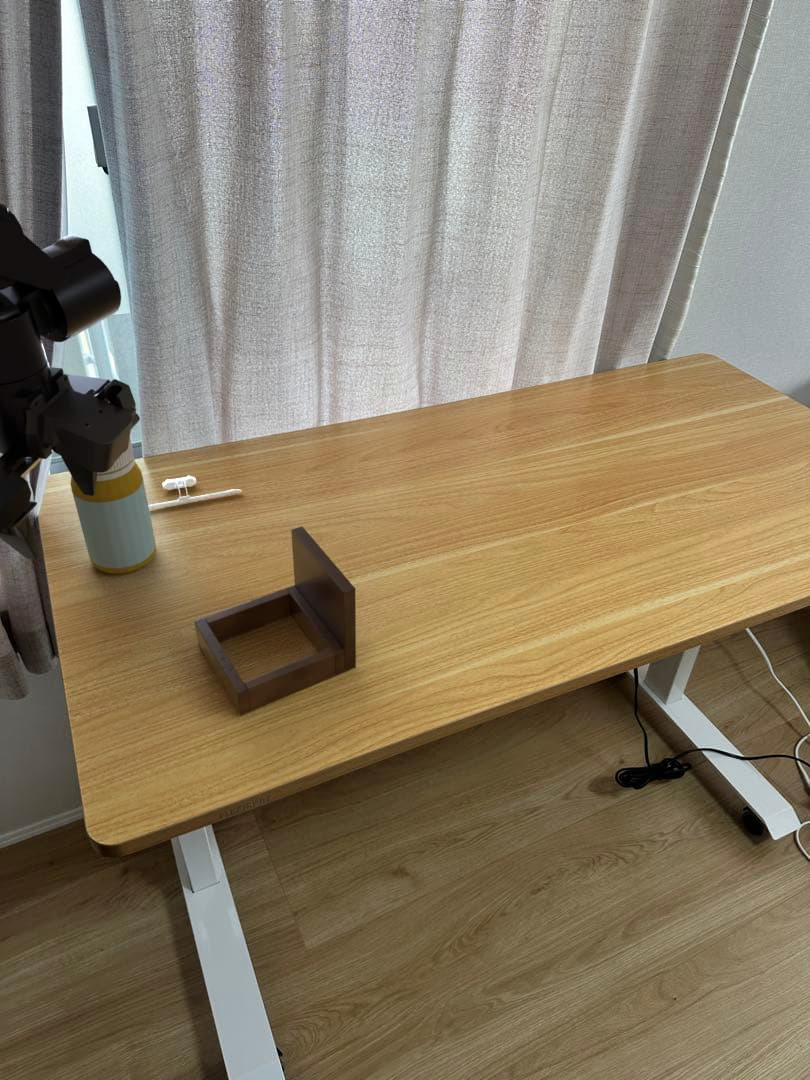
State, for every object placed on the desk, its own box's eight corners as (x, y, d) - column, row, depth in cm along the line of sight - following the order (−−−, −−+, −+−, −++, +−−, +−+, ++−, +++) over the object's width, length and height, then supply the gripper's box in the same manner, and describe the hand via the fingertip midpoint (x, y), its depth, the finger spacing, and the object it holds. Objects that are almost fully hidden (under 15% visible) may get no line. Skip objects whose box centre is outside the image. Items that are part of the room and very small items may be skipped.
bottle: (144, 530, 93) (120, 415, 83) (166, 563, 88) (144, 445, 79) (82, 550, 89) (51, 432, 80) (103, 585, 85) (72, 464, 76)
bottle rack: (240, 716, 72) (228, 635, 66) (197, 643, 79) (183, 563, 73) (356, 667, 77) (355, 588, 71) (306, 602, 84) (302, 525, 78)
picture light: (125, 516, 95) (122, 501, 93) (121, 496, 98) (118, 482, 97) (243, 494, 99) (241, 480, 98) (235, 476, 102) (234, 462, 101)
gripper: (31, 447, 53) (89, 613, 63) (160, 325, 67) (191, 477, 77) (-114, 425, 55) (-35, 589, 65) (41, 311, 69) (86, 461, 79)
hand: (62, 524), depth 72 cm, fingers open, 9 cm apart
